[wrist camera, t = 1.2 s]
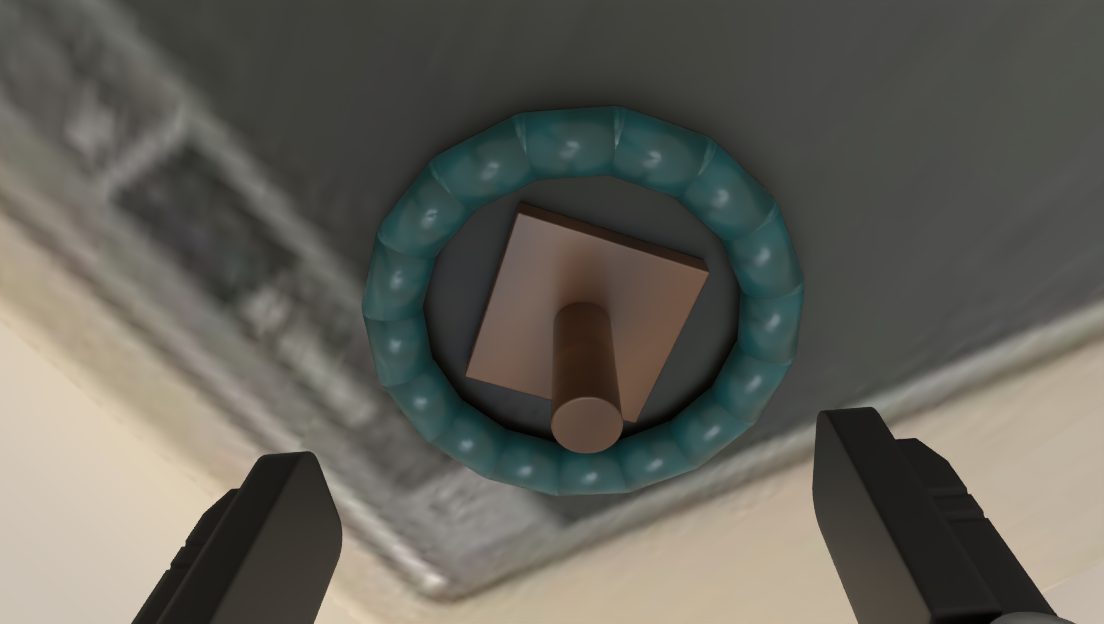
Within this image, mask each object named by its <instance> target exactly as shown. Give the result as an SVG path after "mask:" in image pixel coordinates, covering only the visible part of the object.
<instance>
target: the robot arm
mask: <svg viewBox="0 0 1104 624" xmlns="http://www.w3.org/2000/svg"><path fill="white" fill-rule="evenodd" d="M812 490H813V502H814V509H815V514H816V518H817V522H818V525H819V528H820V530H821V533H822V535H823V538H824V540H825V543H826V545H827V548H828V550H829V552H830V555H831V557H832V560H833V562H834V565H835V567H836V570H837V572H838V575H839V577H840V579H841V582H842V584H843V587H844V589H845V592H846V594H847V597H848V599H849V602H850V604H851V606H852V609H853V611H854V614H855V616H856V619H857V621H858V624H1075V623H1073V622H1071V621H1068V620H1065V619H1063V618H1060V617H1058V616H1057V614H1056V613H1055V612H1054V611H1053V609H1052V608H1051V607H1050V606H1049V604H1048V602H1047V601H1046V600H1045V598H1044V597H1043V595H1042V594H1041V593H1040V591H1039V590H1038V588H1037V587H1036V585H1035V584H1034V583H1033V581H1032V580H1031V578H1030V577H1029V576H1028V574H1027V573H1026V571H1025V570H1024V568H1023V567H1022V566H1021V564H1020V563H1019V561H1018V560H1017V559H1016V557H1015V556H1014V554H1013V553H1012V551H1011V550H1010V549H1009V547H1008V546H1007V544H1006V543H1005V542H1004V540H1003V539H1002V537H1001V536H1000V534H999V533H998V532H997V530H996V529H995V527H994V526H993V525H992V523H991V522H990V520H989V519H988V518H985V517H984V514H983V510H982V509H981V508H980V506H979V505H978V503H977V502H976V501H975V499H974V498H973V496H972V495H971V494H968V493H967V488H966V486H965V485H964V484H963V482H962V481H961V479H960V478H959V476H958V475H957V474H956V472H955V471H954V469H953V468H952V467H951V465H950V464H949V462H948V461H947V460H946V459H944V458H943V457H942V456H940V455H939V454H937V453H936V452H935V451H933V450H932V449H930V448H929V447H928V446H926V445H925V444H923V443H922V442H921V441H919V440H918V439H916V438H909V439H896V440H895V438H894V437H893V435H892V434H891V432H890V431H889V429H888V427H887V426H886V424H885V423H884V421H883V419H882V418H881V416H880V415H879V413H878V412H877V410H875V409H874V408H873V407H862V408H850V409H837V410H825V411H820V412H819V414H818V417H817V424H816V439H815V454H814V470H813V486H812ZM341 547H342V526H341V521H340V518H339V515H338V512H337V509H336V507H335V504H334V501H333V499H332V496H331V494H330V491H329V488H328V486H327V483H326V480H325V478H324V475H323V472H322V470H321V467H320V464H319V462H318V460H317V458H316V456H315V455H314V454H313V453H312V452H309V451H305V452H292V453H280V454H268V455H263V456H261V457H260V458H259V459H258V460H257V462H256V463H255V465H254V466H253V468H252V469H251V471H250V473H249V474H248V476H247V477H246V479H245V481H244V482H243V484H242V486H241V487H240V488H239V489H231V490H230V491H228V492H227V493H226V494H225V495H224V496H223V497H222V498H221V499H219V500H218V501H217V502H216V503H215V504H214V505H213V506H212V507H210V508H209V509H208V510H207V511H206V512H205V513H204V514H203V515H202V517H201V518H200V520H199V521H198V523H197V524H196V526H195V527H194V529H193V530H192V532H191V533H190V535H189V536H188V538H187V540H186V545H185V547H181V549H180V550H179V552H178V553H177V555H176V556H175V558H174V559H173V561H172V562H171V568H170V570H166V572H165V573H164V574H163V576H162V578H161V579H160V581H159V582H158V584H157V585H156V587H155V588H154V590H153V591H152V593H151V594H150V596H149V597H148V599H147V600H146V602H145V603H144V605H143V607H142V608H141V610H140V611H139V613H138V614H137V616H136V617H135V619H134V620H133V622H132V623H131V624H314V621H315V619H316V616H317V614H318V611H319V609H320V606H321V603H322V601H323V598H324V596H325V593H326V591H327V588H328V585H329V583H330V580H331V578H332V575H333V573H334V570H335V568H336V565H337V562H338V560H339V557H340V553H341Z"/></svg>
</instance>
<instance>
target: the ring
mask: <svg viewBox="0 0 1104 624" xmlns="http://www.w3.org/2000/svg"><path fill="white" fill-rule="evenodd" d="M600 175H610V176H613V177H616V178H619V179H622V180H625V181H628V182H631V183H634V184H637V185H641V186H644V187H647V188H650V189H653V190H656V191H659V192H662V193H665V194H668V195H671V196H674V197H675V198H676V199H677V200H678V201H680V202H681V203H682V204H683V205H684V206H685V207H686V208H687V209H689V210H690V211H691V212H692V213H693V214H694V215H695V216H696V217H698V218H699V219H700V220H701V221H702V222H703V223H704V224H705V225H706V226H708V227H709V228H710V229H711V230H712V231H713V232H714V233H715V234H717V235H718V236H719V237H720V239H721V241H722V244H723V246H724V248H725V251H726V253H727V256H728V258H729V261H730V263H731V265H732V268H733V270H734V273H735V275H736V277H737V280H738V282H739V285H740V287H741V294H740V309H739V323H738V338H737V341H736V343H735V345H734V347H733V349H732V351H731V352H730V354H729V356H728V358H727V360H726V362H725V363H724V365H723V367H722V369H721V371H720V373H719V374H718V376H717V378H716V380H715V382H714V384H713V385H712V386H711V387H710V388H709V389H708V390H707V391H705V392H704V393H703V394H702V395H701V396H699V397H698V398H697V399H696V400H695V401H693V402H692V403H691V404H690V405H689V406H687V407H686V408H685V409H684V410H683V411H681V412H680V413H679V414H678V415H677V416H675V417H674V418H673V419H672V420H671V421H668V422H666V423H663V424H660V425H658V426H655V427H652V428H650V429H647V430H644V431H642V432H639V433H636V434H634V435H631V436H628V437H626V438H623V439H621V440H618V441H616V442H615V443H614V444H612V445H611V446H610V447H608V448H606V449H604V450H602V451H599V452H595V453H578V452H574V451H571V450H569V449H567V448H565V447H564V446H562V445H561V444H560V443H557V442H553V441H549V440H545V439H542V438H538V437H534V436H530V435H526V434H523V433H519V432H515V431H511V430H508V429H505V428H504V427H502V426H501V425H499V424H498V423H496V422H495V421H493V420H492V419H490V418H489V417H487V416H486V415H484V414H483V413H481V412H480V411H478V410H477V409H475V408H474V407H472V406H471V405H469V404H468V403H466V402H465V401H463V400H462V399H461V398H460V396H459V395H458V393H457V392H456V391H455V389H454V388H453V386H452V385H451V383H450V382H449V381H448V379H447V378H446V376H445V375H444V373H443V372H442V371H441V369H440V368H439V366H438V365H437V363H436V362H435V361H434V359H433V358H432V354H431V349H430V343H429V338H428V333H427V328H426V322H425V317H424V312H423V304H424V300H425V296H426V293H427V289H428V285H429V282H430V278H431V274H432V271H433V267H434V263H435V259H436V256H437V254H438V253H439V252H440V251H441V250H442V249H443V247H444V246H445V245H446V244H447V243H448V242H449V240H450V239H451V238H452V237H453V236H454V235H455V233H456V232H457V231H458V230H459V229H460V228H461V226H462V225H463V224H464V223H465V222H466V221H467V219H468V218H469V217H470V216H471V215H472V214H473V212H474V211H475V210H476V209H478V208H480V207H482V206H484V205H486V204H488V203H490V202H492V201H495V200H497V199H499V198H501V197H503V196H505V195H507V194H509V193H511V192H513V191H515V190H517V189H519V188H521V187H523V186H525V185H527V184H529V183H532V182H534V181H536V180H541V179H556V178H571V177H585V176H600ZM803 293H804V276H803V272H802V269H801V266H800V264H799V261H798V258H797V255H796V253H795V250H794V247H793V244H792V242H791V239H790V236H789V233H788V230H787V228H786V225H785V222H784V219H783V217H782V214H781V211H780V208H779V206H778V204H777V202H776V200H775V199H774V198H773V196H772V195H771V194H770V193H768V192H767V191H766V190H765V189H764V188H763V187H762V186H761V185H760V184H759V183H758V182H757V181H756V180H755V179H754V178H753V177H752V176H751V175H750V174H749V173H748V172H746V171H745V170H744V169H743V168H742V167H741V166H740V165H739V164H738V163H737V162H736V161H735V160H734V159H733V158H732V157H731V156H730V155H729V154H728V153H727V152H726V151H724V150H723V149H722V148H721V147H720V146H719V145H718V144H717V143H716V142H715V141H714V140H712V139H711V138H710V137H708V136H705V135H703V134H700V133H697V132H694V131H691V130H688V129H685V128H683V127H680V126H677V125H674V124H671V123H668V122H665V121H662V120H659V119H656V118H653V117H651V116H648V115H645V114H642V113H639V112H636V111H633V110H630V109H627V108H625V107H620V106H603V107H589V108H575V109H561V110H548V111H534V112H523V113H518V114H516V115H513V116H511V117H510V118H508V119H506V120H504V121H502V122H500V123H498V124H496V125H494V126H492V127H490V128H488V129H486V130H484V131H482V132H480V133H478V134H477V135H475V136H473V137H471V138H469V139H467V140H465V141H463V142H461V143H459V144H457V145H455V146H453V147H451V148H449V149H447V150H445V151H444V152H442V153H440V154H438V155H437V156H435V157H434V158H433V159H432V160H431V161H430V162H429V163H428V164H427V166H426V167H425V168H424V169H423V171H422V172H421V173H420V175H419V176H418V177H417V178H416V180H415V181H414V182H413V183H412V185H411V186H410V187H409V188H408V190H407V191H406V192H405V194H404V195H403V196H402V197H401V199H400V200H399V201H398V202H397V204H396V205H395V206H394V207H393V209H392V210H391V211H390V212H389V214H388V215H387V216H386V218H385V219H384V220H383V221H382V223H381V224H380V226H379V229H378V232H377V235H376V240H375V244H374V249H373V254H372V258H371V263H370V267H369V272H368V276H367V281H366V285H365V290H364V294H363V299H362V313H363V317H364V321H365V325H366V329H367V334H368V338H369V342H370V346H371V350H372V354H373V359H374V363H375V367H376V371H377V375H378V378H379V380H380V382H381V384H382V385H383V387H384V388H385V389H386V391H387V392H388V393H389V395H390V396H391V397H392V399H393V400H394V401H395V403H396V404H397V405H398V407H399V408H400V409H401V411H402V412H403V413H404V415H405V416H406V417H407V419H408V420H409V421H410V422H411V424H412V425H413V426H414V428H415V429H416V430H417V432H418V433H419V434H420V436H421V437H422V438H423V439H424V440H426V441H427V442H428V443H430V444H431V445H433V446H435V447H436V448H438V449H439V450H441V451H443V452H444V453H446V454H447V455H449V456H450V457H452V458H454V459H455V460H457V461H458V462H460V463H461V464H463V465H465V466H466V467H468V468H469V469H471V470H473V471H474V472H476V473H477V474H479V475H480V476H482V477H484V478H486V479H490V480H494V481H498V482H502V483H506V484H510V485H514V486H518V487H521V488H525V489H529V490H533V491H537V492H541V493H545V494H549V495H553V496H569V495H590V494H612V493H628V492H632V491H635V490H638V489H640V488H643V487H646V486H649V485H652V484H654V483H657V482H660V481H663V480H666V479H668V478H671V477H674V476H677V475H680V474H683V473H685V472H688V471H691V470H694V469H696V468H698V467H700V466H701V465H703V464H704V463H705V462H706V461H708V460H709V459H710V458H712V457H713V456H714V455H715V454H717V453H718V452H719V451H720V450H722V449H723V448H724V447H726V446H727V445H728V444H729V443H731V442H732V441H733V440H735V439H736V438H737V437H738V436H740V435H741V434H742V433H744V432H745V431H746V430H747V429H749V428H750V427H751V426H753V425H754V424H755V423H756V422H757V421H758V419H759V418H760V416H761V414H762V413H763V411H764V409H765V408H766V406H767V404H768V403H769V401H770V399H771V398H772V396H773V394H774V393H775V391H776V389H777V388H778V386H779V384H780V383H781V381H782V379H783V378H784V376H785V375H786V373H787V371H788V370H789V368H790V366H791V365H792V363H793V361H794V359H795V356H796V351H797V343H798V335H799V326H800V318H801V309H802V301H803Z"/></svg>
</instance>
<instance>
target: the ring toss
mask: <svg viewBox="0 0 1104 624" xmlns="http://www.w3.org/2000/svg"><path fill="white" fill-rule="evenodd" d="M709 273H710V272H709V270H708V267H707V265H706V263H705V261H704V260H702V259H699V258H696V257H693V256H689V255H686V254H683V253H680V252H677V251H674V250H670V249H667V248H664V247H661V246H658V245H654V244H651V243H648V242H645V241H642V240H639V239H635V238H632V237H629V236H626V235H623V234H620V233H616V232H613V231H610V230H607V229H604V228H601V227H597V226H594V225H591V224H588V223H585V222H582V221H578V220H575V219H572V218H569V217H566V216H563V215H559V214H556V213H553V212H550V211H547V210H544V209H540V208H537V207H534V206H531V205H528V204H525V203H521V202H519V204H518V207H517V210H516V213H515V216H514V219H513V223H512V226H511V229H510V232H509V235H508V238H507V241H506V244H505V247H504V251H503V254H502V257H501V260H500V263H499V266H498V269H497V272H496V275H495V278H494V282H493V285H492V288H491V291H490V294H489V297H488V300H487V303H486V306H485V309H484V313H483V316H482V319H481V322H480V325H479V328H478V331H477V334H476V337H475V340H474V344H473V347H472V350H471V353H470V356H469V359H468V363H467V367H466V372H465V377H468V378H472V379H476V380H479V381H483V382H487V383H490V384H494V385H498V386H501V387H505V388H509V389H512V390H516V391H520V392H523V393H527V394H530V395H534V396H538V397H541V398H545V399H549V400H552V403H551V429H552V432H553V435H554V437H555V438H556V440H557V441H558V442H559V443H560V444H561V445H562V446H564V447H565V448H567V449H569V450H571V451H574V452H578V453H595V452H599V451H602V450H604V449H606V448H608V447H610V446H611V445H612V444H614V443H615V442H616V440H617V439H618V438H619V436H620V434H621V432H622V429H623V420H625V421H629V422H633V423H636V422H637V419H638V417H639V415H640V413H641V411H642V409H643V407H644V405H645V403H646V401H647V399H648V397H649V395H650V393H651V391H652V389H653V387H654V385H655V383H656V381H657V379H658V377H659V375H660V373H661V371H662V369H663V367H664V365H665V363H666V361H667V359H668V357H669V355H670V353H671V351H672V349H673V346H674V344H675V342H676V340H677V338H678V336H679V334H680V332H681V330H682V328H683V326H684V324H685V322H686V320H687V318H688V316H689V314H690V312H691V310H692V308H693V306H694V304H695V302H696V300H697V298H698V296H699V294H700V292H701V290H702V288H703V286H704V284H705V282H706V280H707V278H708V276H709Z"/></svg>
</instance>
